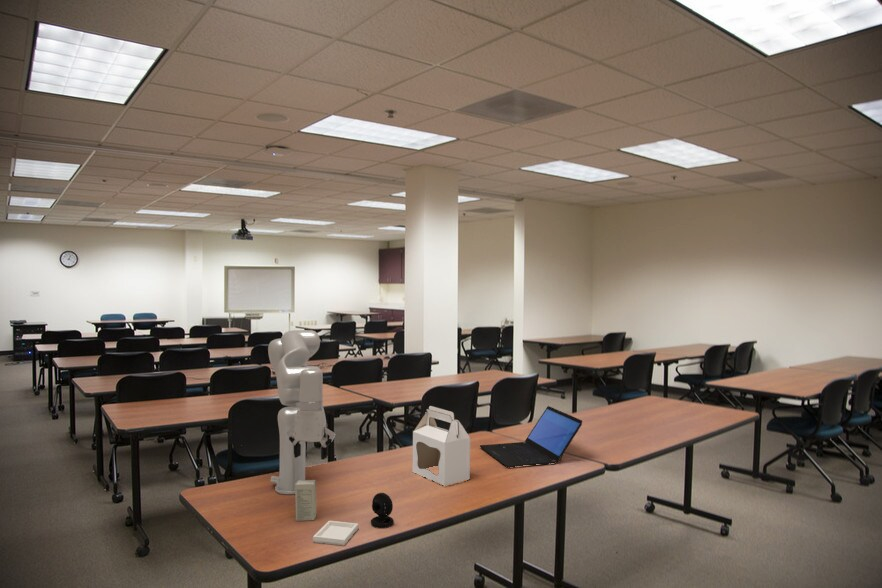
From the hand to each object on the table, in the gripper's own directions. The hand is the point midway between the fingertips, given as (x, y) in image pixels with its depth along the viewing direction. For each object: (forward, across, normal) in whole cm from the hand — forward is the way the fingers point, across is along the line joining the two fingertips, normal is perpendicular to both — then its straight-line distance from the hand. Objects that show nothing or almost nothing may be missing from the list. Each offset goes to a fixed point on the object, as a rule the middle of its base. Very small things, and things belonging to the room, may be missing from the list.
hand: (310, 457), depth 186 cm
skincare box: (+20, -1, -1) cm, 20 cm away
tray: (+20, +14, -10) cm, 27 cm away
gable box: (+20, +33, +52) cm, 64 cm away
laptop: (+20, +66, +93) cm, 116 cm away
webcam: (+21, +25, +2) cm, 32 cm away
